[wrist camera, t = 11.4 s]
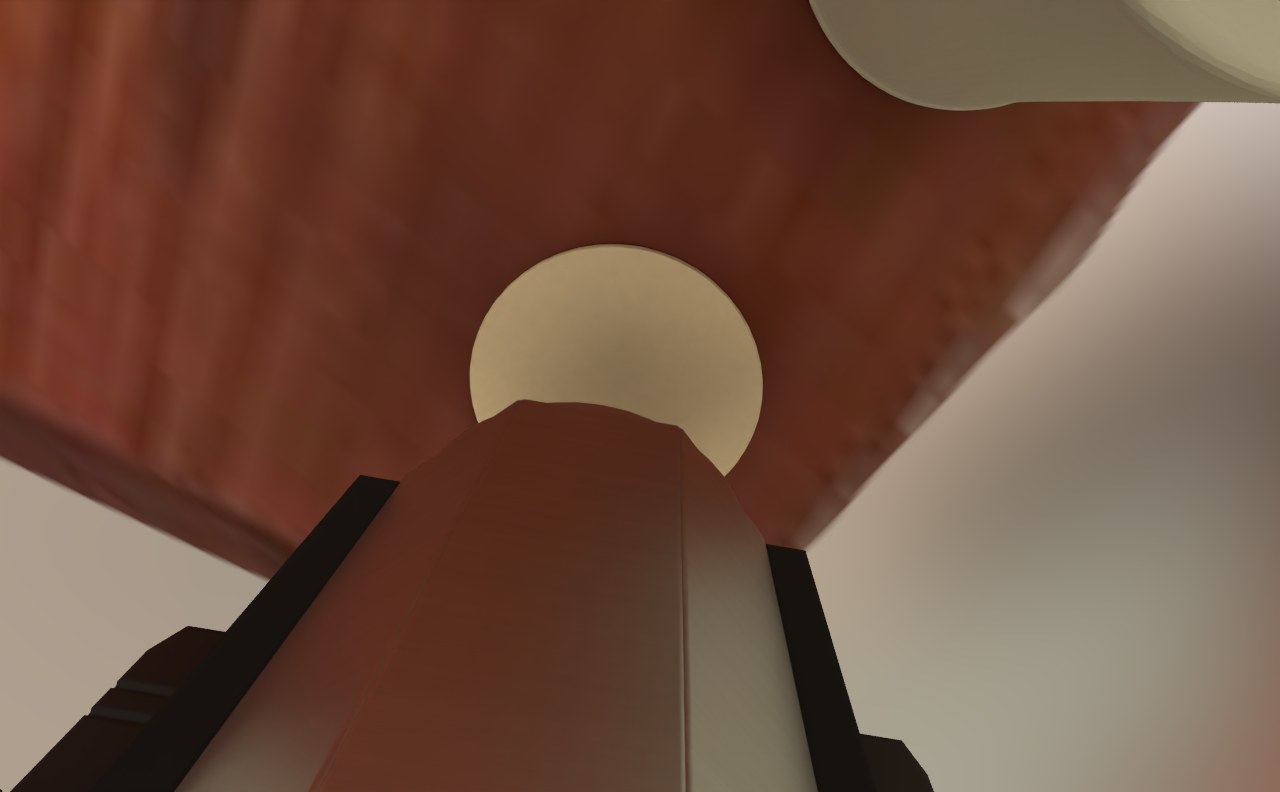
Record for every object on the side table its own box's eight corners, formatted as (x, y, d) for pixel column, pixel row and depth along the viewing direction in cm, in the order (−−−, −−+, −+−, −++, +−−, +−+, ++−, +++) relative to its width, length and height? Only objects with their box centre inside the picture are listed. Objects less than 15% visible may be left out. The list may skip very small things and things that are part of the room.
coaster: (483, 217, 19) (479, 219, 19) (794, 273, 19) (796, 277, 19) (464, 486, 23) (460, 493, 22) (726, 531, 23) (726, 538, 22)
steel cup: (413, 370, 12) (-187, 972, 4) (790, 436, 12) (1045, 1156, 4) (402, 658, 15) (45, 1382, 6) (710, 709, 15) (757, 1479, 6)
